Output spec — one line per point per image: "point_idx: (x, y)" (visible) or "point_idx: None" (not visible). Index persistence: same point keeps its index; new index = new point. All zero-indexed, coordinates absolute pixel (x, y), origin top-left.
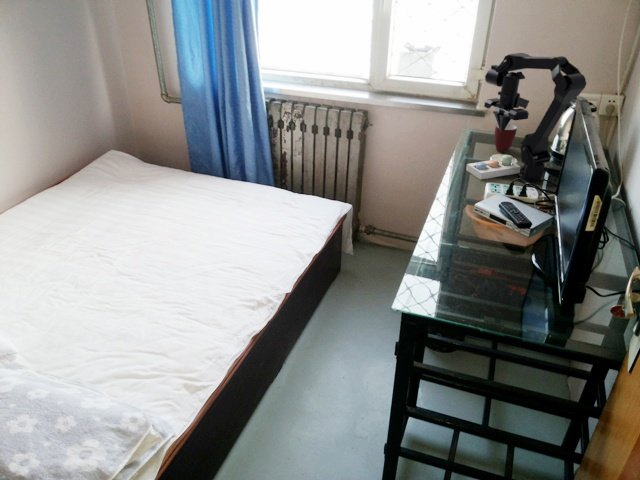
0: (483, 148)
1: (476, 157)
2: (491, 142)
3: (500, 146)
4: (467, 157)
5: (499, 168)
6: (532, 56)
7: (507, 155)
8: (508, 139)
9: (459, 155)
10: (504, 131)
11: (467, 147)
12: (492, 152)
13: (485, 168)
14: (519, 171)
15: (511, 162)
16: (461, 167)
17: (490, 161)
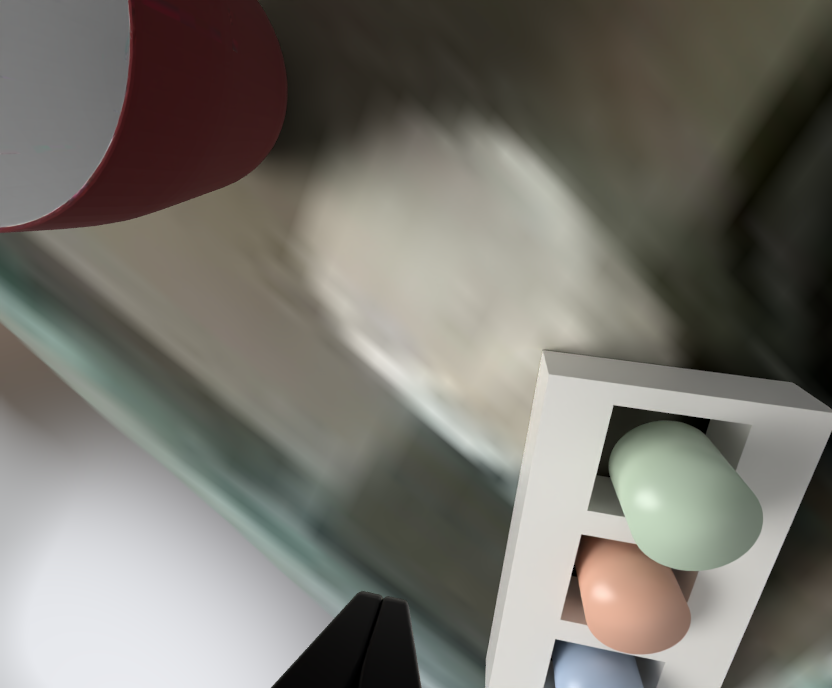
0: (142, 239)
1: (309, 440)
2: None
3: (248, 173)
4: (285, 495)
5: (717, 602)
6: None
7: (670, 500)
8: (246, 102)
9: (231, 514)
10: (125, 182)
11: (93, 350)
12: (253, 233)
13: (641, 683)
14: (801, 391)
15: (723, 456)
16: (429, 646)
17: (602, 629)
